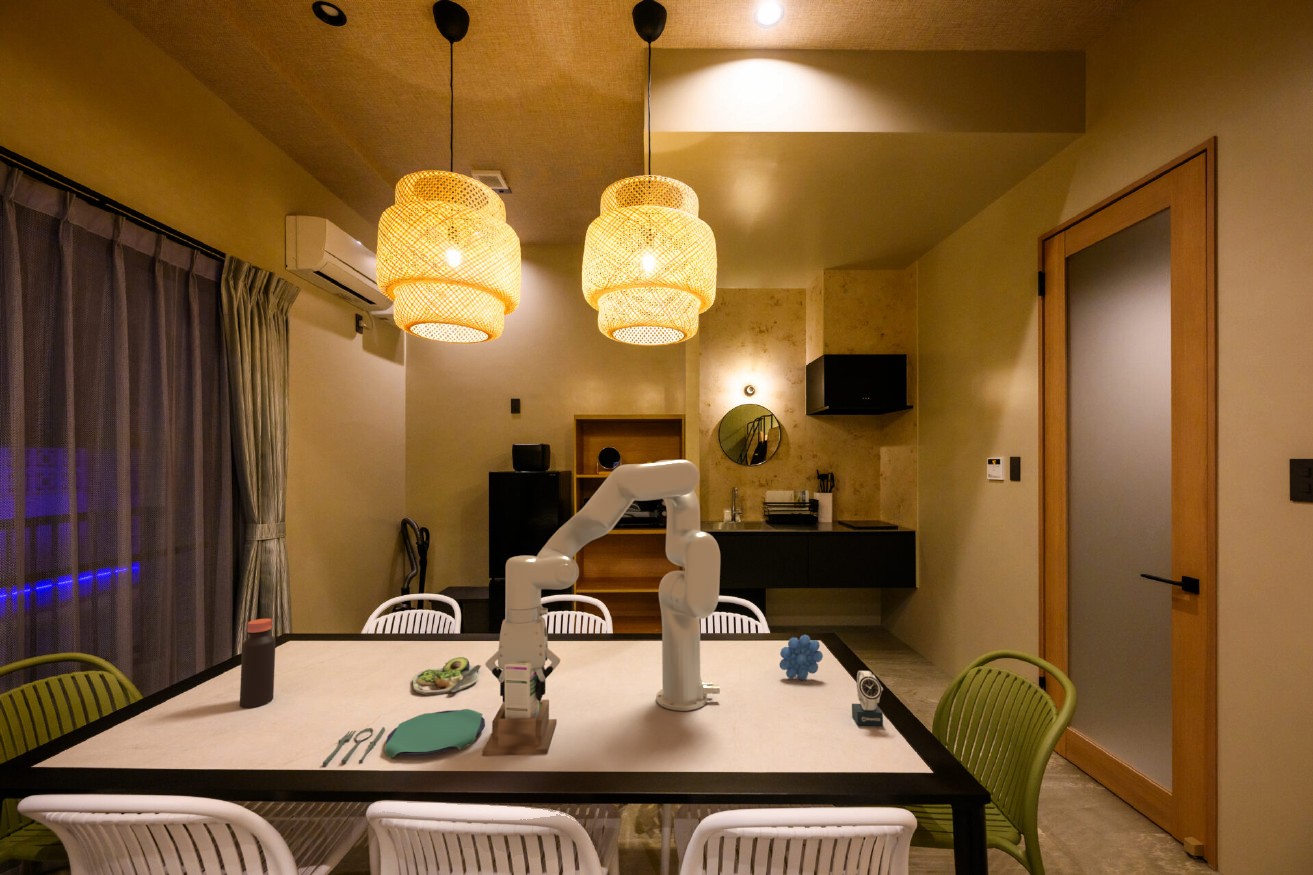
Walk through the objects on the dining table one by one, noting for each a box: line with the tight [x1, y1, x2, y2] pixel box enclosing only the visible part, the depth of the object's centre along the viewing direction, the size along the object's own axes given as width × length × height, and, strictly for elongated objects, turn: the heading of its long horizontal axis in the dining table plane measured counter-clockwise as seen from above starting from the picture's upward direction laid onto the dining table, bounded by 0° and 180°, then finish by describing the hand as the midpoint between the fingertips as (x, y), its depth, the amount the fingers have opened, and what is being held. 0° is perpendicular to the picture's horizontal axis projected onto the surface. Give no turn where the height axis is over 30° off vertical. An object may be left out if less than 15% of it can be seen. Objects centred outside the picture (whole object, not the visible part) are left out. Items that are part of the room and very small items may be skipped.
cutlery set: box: [322, 708, 486, 767], centre depth 114 cm, size 20×30×2 cm, turn 101°
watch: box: [851, 670, 884, 728], centre depth 121 cm, size 6×8×11 cm
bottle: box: [239, 618, 276, 709], centre depth 133 cm, size 7×7×20 cm
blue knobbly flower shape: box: [779, 634, 824, 681], centre depth 146 cm, size 12×7×12 cm, turn 84°
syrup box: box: [505, 662, 541, 719], centre depth 115 cm, size 6×6×14 cm
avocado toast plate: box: [412, 656, 482, 696], centre depth 144 cm, size 19×18×5 cm
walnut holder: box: [481, 698, 557, 757], centre depth 114 cm, size 13×13×6 cm
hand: (522, 697), depth 115 cm, fingers closed on syrup box, 6 cm apart
